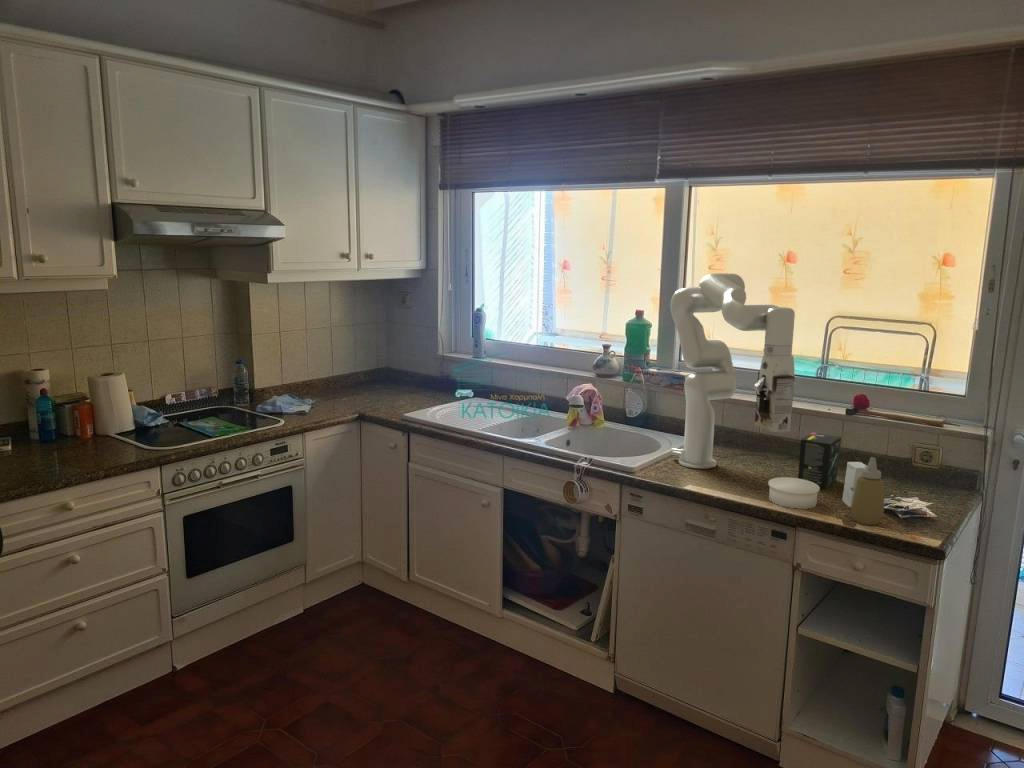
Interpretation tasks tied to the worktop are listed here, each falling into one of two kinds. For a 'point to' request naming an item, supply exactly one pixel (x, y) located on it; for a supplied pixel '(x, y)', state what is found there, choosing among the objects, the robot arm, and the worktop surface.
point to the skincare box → (852, 480)
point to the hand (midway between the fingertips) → (773, 411)
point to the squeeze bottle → (869, 496)
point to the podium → (793, 492)
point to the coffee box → (777, 405)
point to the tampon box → (819, 459)
